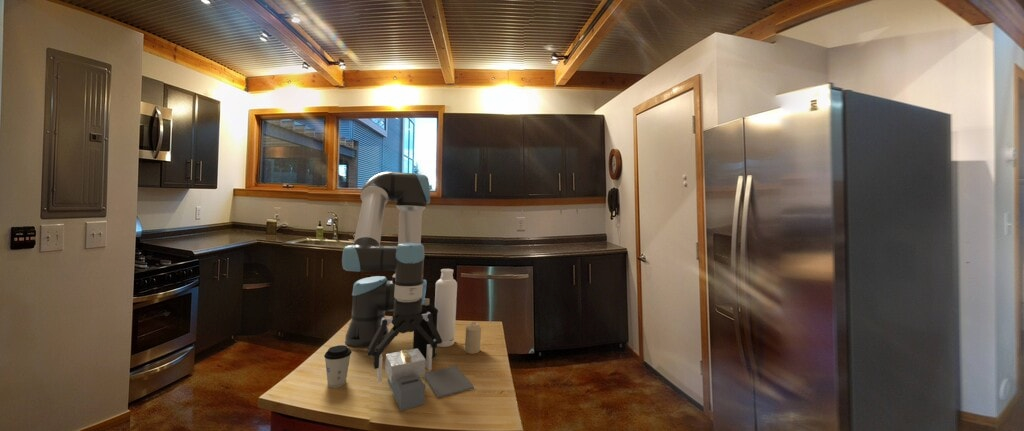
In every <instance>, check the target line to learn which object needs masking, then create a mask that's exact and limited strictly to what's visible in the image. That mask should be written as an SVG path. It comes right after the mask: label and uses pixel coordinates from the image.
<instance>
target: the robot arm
mask: <svg viewBox="0 0 1024 431" xmlns="http://www.w3.org/2000/svg"><path fill="white" fill-rule="evenodd" d="M429 181H430V180H429V178H428V176H427V175H425V174H421V173H420V174H419V173H412V172H411V173H409V172H395V171H383V172H382V171H381V172H379V173H377V174H375V175H373V176H372V177H370V178H369V179H368V180H367V181H366V182H365V183H364V185H363V187H362V189H361V192H360V196H359V197H360V200H361V206H360V210H359V216H358V220H357V225H356V230H355V235H354V239H353V244H350V245H349V244H348V245H345V246H344V248H343V251H342V255H341V266H342V269H343V270H345V272H346V271H347V272H358V273H359V272H382V271H383V272H389V271H390V272H395V273H393V275H392V279H391V280H388V278H387V277H386V276H382V275H381V276H380V275H375V276H370V277H363V278H361V279H358V280H356V281H355V282H354V283H353V285H352V286H353V287H352V293H351V296H352V298H351V299H352V300H351V301H352V302H351V320H350V323H349V325H348V329H347V331H346V334H345V341H344V342H345V344H346V345H347V346H350V347H355V348H366V347H367V349H366V354H367V356H368V357H373V359H372V360H373V363H372V364H373V368H374V370H375V369H376V379H377V380H378V382H379V383H380V382H382V379H383V378H382V375H383V359H384V358H383V355H382V354H383V352H384V351H385V350H386V349H387V347H388V346H390V344H391V343H392V342H393V340H394V339H395V338H396V337H397V336H398V335H399V334H405V333H414V330H415V329H417V330H418V331H419V332H420V334H421V335H422V336H423V337H424V338H425V339H426V340H427V341H428V342H429V343H430V344H428V345H427V356H426V364H425V368H426V369H427V370H428V371H432V366H433V365H432V364H433V363H432V362H433V359H432V357H435V348H436V349H437V347H438V346H437V344H441V343H442V339H441V337H440V335H439V333H438V331H437V329H436V327H435V325H434V322H433V316H432V314H431V313H430V312H426V314H422V313H421V312H422V305H423V304H424V299H425V298H426V292H427V279H424V266H425V265H424V264H425V263H424V262H425V257H426V256H425V246H424V244H422V243H421V241H422V224H423V223H422V222H423V221H422V220H423V219H422V218H423V212H424V210H426V208H427V205H428V204H430V203H431V190H430V189H431V188H430V182H429ZM388 202H395V207H396V209H398V211H399V217H398V239H397V240H398V241H397V245H381V240H382V230H383V222H384V214H385V205H387V204H388ZM386 312H392V313H393V315H392V317H390V318H386V317H385V316H386ZM423 319H424V320H425V321H427V323H428V325H429V327H430V329H431V331H432V333H433V335H434V337H435V339H434V340H433V339H432V338H431V337H430V336H429V335H428V334H427V333H426V332H425V331H424V330H423V329H422V328H421V326H420V325H419V324H420V322H421V321H422V320H423ZM391 324H392V327H391V328H390V330H389V326H390V325H391ZM435 358H436V357H435Z"/></svg>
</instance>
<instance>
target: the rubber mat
mask: <svg viewBox="0 0 1024 431" xmlns="http://www.w3.org/2000/svg"><path fill="white" fill-rule="evenodd" d="M423 378H424V379H425V381H426V383H427V384H428V386H429V388H430V389H431V390H432V392H433V394H434V395H435V397H436V399H441V398H444V397H448V396H449V397H450V396H452V395H455V394H459V393H463V392H467V391H470V390H474V389H475V385H474V384H473V383H472V382H471V381H470V380H469V379H468V378H467V376H466V375H465V374H464V373H463V372H462V371H461V369H460V368H459V367H458V365H453V366H450V367H444V368H439V369H434V370H429V371H427V372H426V371H425V376H423Z"/></svg>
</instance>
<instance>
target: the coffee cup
mask: <svg viewBox="0 0 1024 431" xmlns="http://www.w3.org/2000/svg"><path fill="white" fill-rule="evenodd" d="M351 355H352V350H351V348H349V347H348V345H343V344H341V345H340V344H339V345H334V346H331V347H329V348H327V351H326V352H325V353H324V355H323V356H324V360H325V368H326V380H327V386H328V387H329V388H339V387H343V386H344V385H345V384H346V382H347V376H348V371H349V366H350V359H351Z"/></svg>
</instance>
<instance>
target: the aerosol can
mask: <svg viewBox="0 0 1024 431" xmlns="http://www.w3.org/2000/svg"><path fill="white" fill-rule="evenodd" d="M430 300H431V299H430V298H428V297H427V298H426V297H425V299H424V303H423V305H422V312H421V313H422V314H426V312H430V313H431V314H432V316H433V322H434V325H435V327H436V329H437V313H438V310H437V309H436V308H435V305H432V304H430ZM419 325H420V326H421V328H422V329H423V330H424V331H425V332H426V333H427V334H428V335H429V336H430V337H431V338H432V339H433V340H434V339H435V337H434V335H433V333H432V331H431V329H430V327H429V325H428V323H427V321H425V320H424V319H423V320H422V321H421V322H420V324H419ZM412 337H413V339H412V341H413V342H412V349H417V348H418V349H419V351H420V352H421V354H422V355H423V357H424V358H425V359H426V356H427V345H428V344H430V343H429V342H428V341H427V340H426V339H425V338H424V337H423V336H422V335H421V334H420V332H419V331H418V330H417V329H415V330H414V331H413V336H412ZM436 349H437V347H436V348H435V357H432V360H434V359H435V358H436V357H437V352H436Z"/></svg>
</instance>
